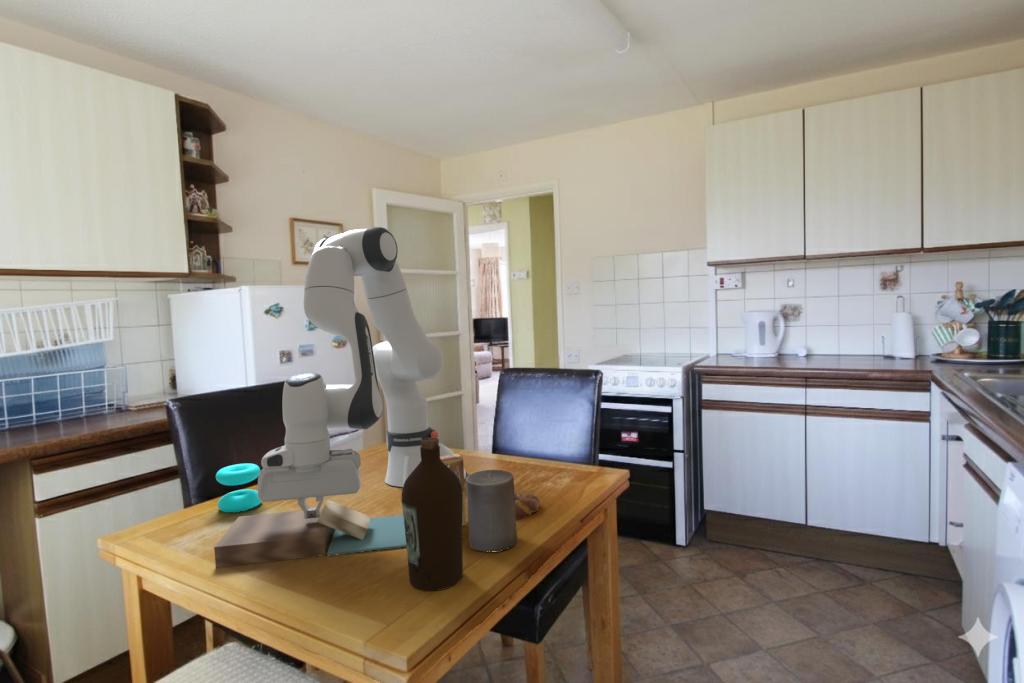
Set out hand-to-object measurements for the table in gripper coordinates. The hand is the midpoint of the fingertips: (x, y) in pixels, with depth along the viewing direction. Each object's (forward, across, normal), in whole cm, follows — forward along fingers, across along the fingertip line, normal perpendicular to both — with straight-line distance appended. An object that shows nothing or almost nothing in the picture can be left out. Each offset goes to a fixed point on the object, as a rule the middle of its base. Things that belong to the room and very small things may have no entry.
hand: (312, 517), depth 119 cm
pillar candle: (+5, -36, +11) cm, 38 cm away
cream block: (+2, -6, 0) cm, 6 cm away
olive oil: (+5, -24, +23) cm, 34 cm away
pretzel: (+6, -44, -6) cm, 45 cm away
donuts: (+5, +22, -27) cm, 35 cm away
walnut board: (+5, +7, 0) cm, 8 cm away
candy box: (+5, -27, 0) cm, 28 cm away
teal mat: (+5, -12, 0) cm, 13 cm away
